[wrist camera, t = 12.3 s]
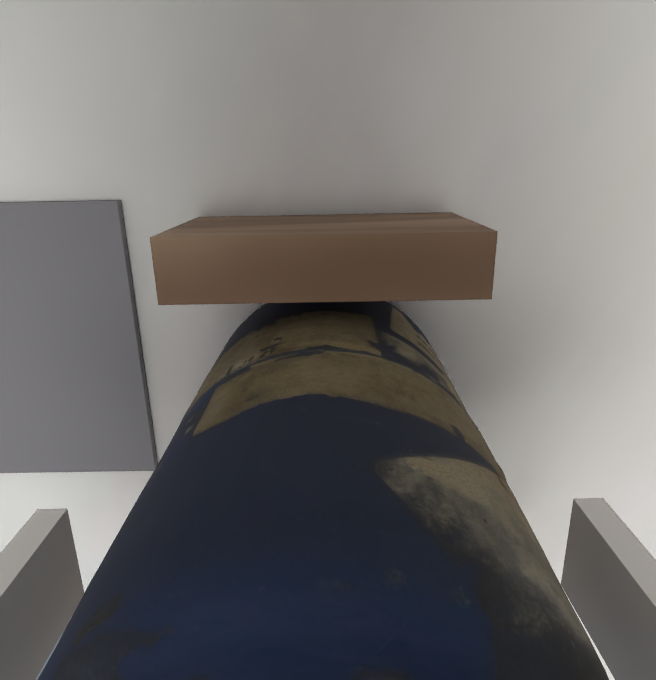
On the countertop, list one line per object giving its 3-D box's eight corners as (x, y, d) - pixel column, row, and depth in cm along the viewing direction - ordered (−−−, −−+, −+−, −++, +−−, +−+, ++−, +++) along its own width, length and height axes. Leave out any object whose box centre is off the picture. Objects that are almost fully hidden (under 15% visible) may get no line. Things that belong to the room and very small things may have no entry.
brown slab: (173, 217, 21) (115, 238, 15) (476, 212, 21) (532, 231, 15) (220, 648, 28) (193, 772, 22) (445, 645, 28) (474, 768, 22)
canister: (476, 405, 23) (870, 1052, 6) (307, 511, 25) (263, 1234, 8) (353, 230, 21) (461, 529, 4) (174, 361, 23) (-280, 952, 6)
